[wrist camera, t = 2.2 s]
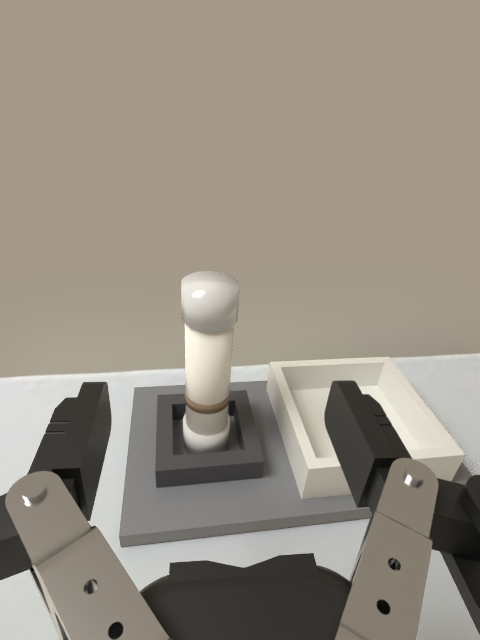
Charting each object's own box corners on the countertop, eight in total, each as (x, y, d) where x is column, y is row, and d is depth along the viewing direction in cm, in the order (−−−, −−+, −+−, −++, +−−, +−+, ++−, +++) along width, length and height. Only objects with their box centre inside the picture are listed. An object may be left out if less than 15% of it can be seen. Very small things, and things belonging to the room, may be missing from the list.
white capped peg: (234, 432, 33) (247, 277, 25) (218, 466, 30) (228, 302, 22) (194, 420, 33) (196, 267, 26) (175, 451, 31) (170, 289, 23)
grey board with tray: (391, 383, 41) (403, 348, 39) (480, 504, 30) (504, 466, 27) (135, 397, 37) (131, 359, 35) (120, 547, 25) (114, 504, 23)
